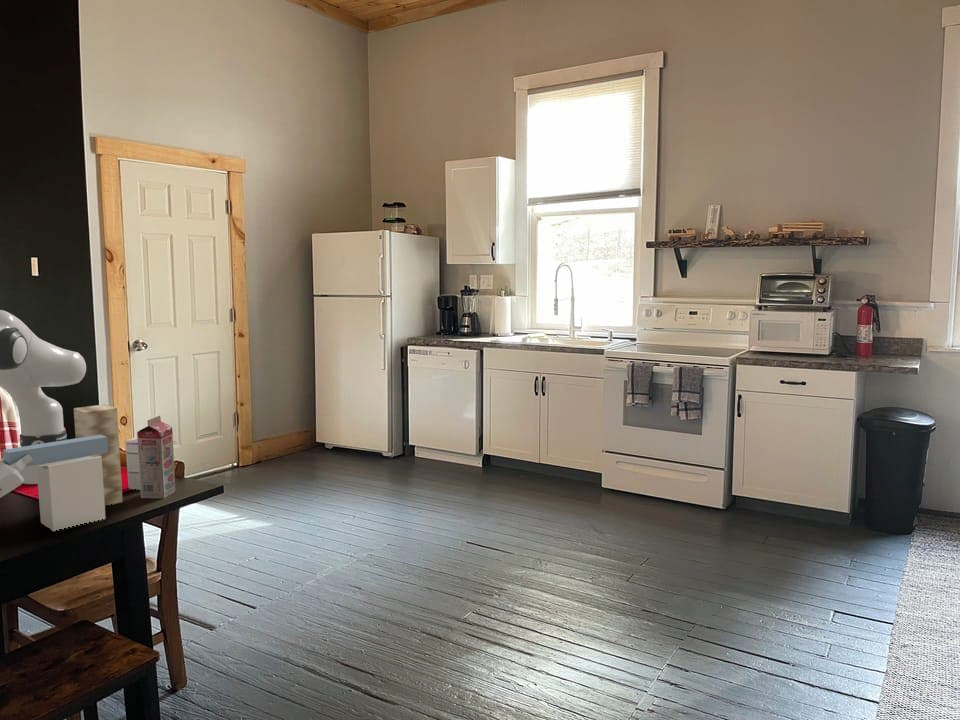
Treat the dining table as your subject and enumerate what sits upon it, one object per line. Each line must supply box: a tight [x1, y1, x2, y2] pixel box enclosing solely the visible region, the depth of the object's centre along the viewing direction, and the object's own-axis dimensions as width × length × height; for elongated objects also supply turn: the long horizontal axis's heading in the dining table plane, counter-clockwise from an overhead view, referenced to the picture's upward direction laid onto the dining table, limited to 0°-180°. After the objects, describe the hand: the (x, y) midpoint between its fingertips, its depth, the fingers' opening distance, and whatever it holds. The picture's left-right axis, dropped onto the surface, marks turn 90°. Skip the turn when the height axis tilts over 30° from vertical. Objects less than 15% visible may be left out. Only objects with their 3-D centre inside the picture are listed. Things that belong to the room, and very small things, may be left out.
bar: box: [2, 435, 108, 467], centre depth 180 cm, size 22×4×4 cm, turn 138°
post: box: [73, 404, 123, 507], centre depth 197 cm, size 8×8×26 cm
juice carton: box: [136, 415, 176, 499], centre depth 204 cm, size 7×7×22 cm
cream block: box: [37, 456, 106, 532], centre depth 183 cm, size 12×9×16 cm
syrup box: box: [124, 436, 140, 491], centre depth 211 cm, size 6×6×14 cm
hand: (26, 454), depth 175 cm, fingers closed on bar, 4 cm apart
